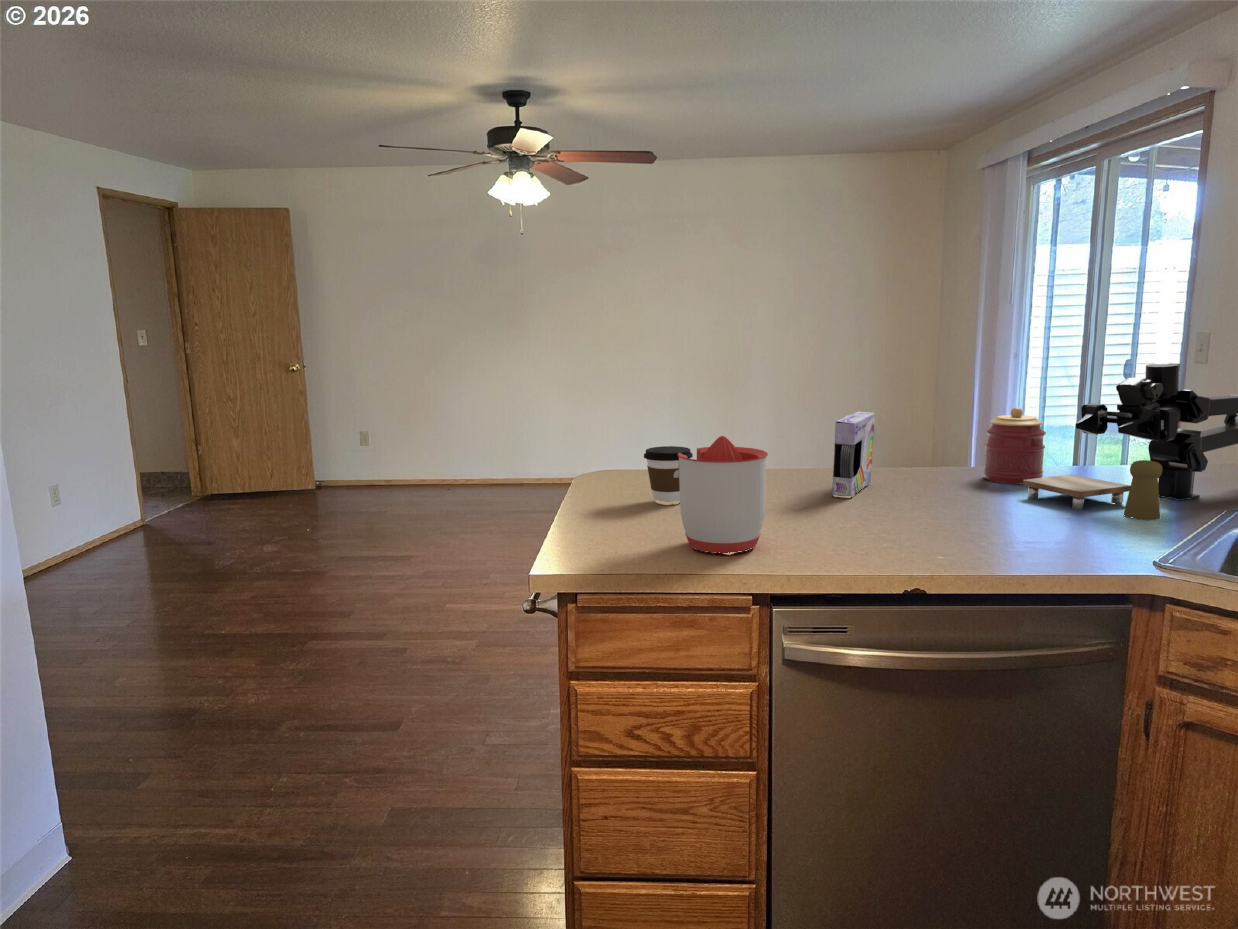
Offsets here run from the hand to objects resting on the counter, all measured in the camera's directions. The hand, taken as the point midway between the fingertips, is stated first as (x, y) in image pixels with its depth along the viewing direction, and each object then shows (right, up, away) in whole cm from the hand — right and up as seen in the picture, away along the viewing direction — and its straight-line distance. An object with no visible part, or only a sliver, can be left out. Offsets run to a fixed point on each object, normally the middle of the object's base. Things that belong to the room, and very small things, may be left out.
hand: (1097, 427), depth 157 cm
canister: (0, -11, +34) cm, 36 cm away
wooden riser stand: (+1, -15, +10) cm, 18 cm away
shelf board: (+1, -12, +10) cm, 16 cm away
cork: (+6, -18, -4) cm, 19 cm away
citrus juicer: (-78, -22, -17) cm, 83 cm away
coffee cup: (-85, -16, +19) cm, 88 cm away
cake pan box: (-41, -14, +25) cm, 51 cm away
